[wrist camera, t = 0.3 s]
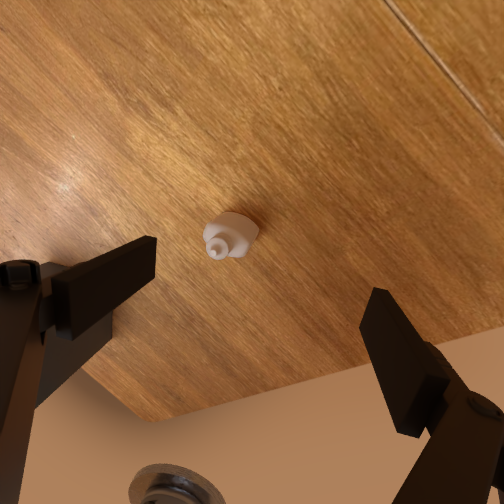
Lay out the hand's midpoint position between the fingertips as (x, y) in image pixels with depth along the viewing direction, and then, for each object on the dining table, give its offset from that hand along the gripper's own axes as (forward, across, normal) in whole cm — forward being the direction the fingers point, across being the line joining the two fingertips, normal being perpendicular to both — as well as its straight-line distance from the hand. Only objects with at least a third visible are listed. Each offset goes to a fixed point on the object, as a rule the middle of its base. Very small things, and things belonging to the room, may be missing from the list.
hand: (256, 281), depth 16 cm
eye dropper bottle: (+21, +5, +2) cm, 22 cm away
